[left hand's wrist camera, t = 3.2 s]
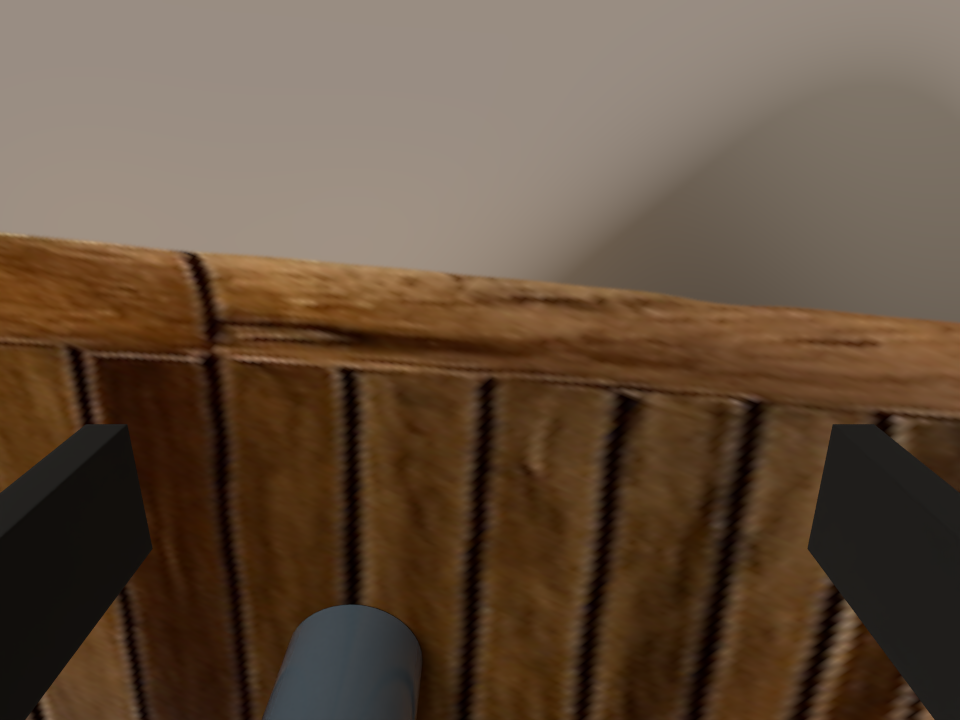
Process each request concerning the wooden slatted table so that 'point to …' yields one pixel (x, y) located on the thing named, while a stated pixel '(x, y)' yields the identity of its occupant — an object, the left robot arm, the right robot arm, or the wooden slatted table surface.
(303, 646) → the jar
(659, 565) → the wooden slatted table surface
